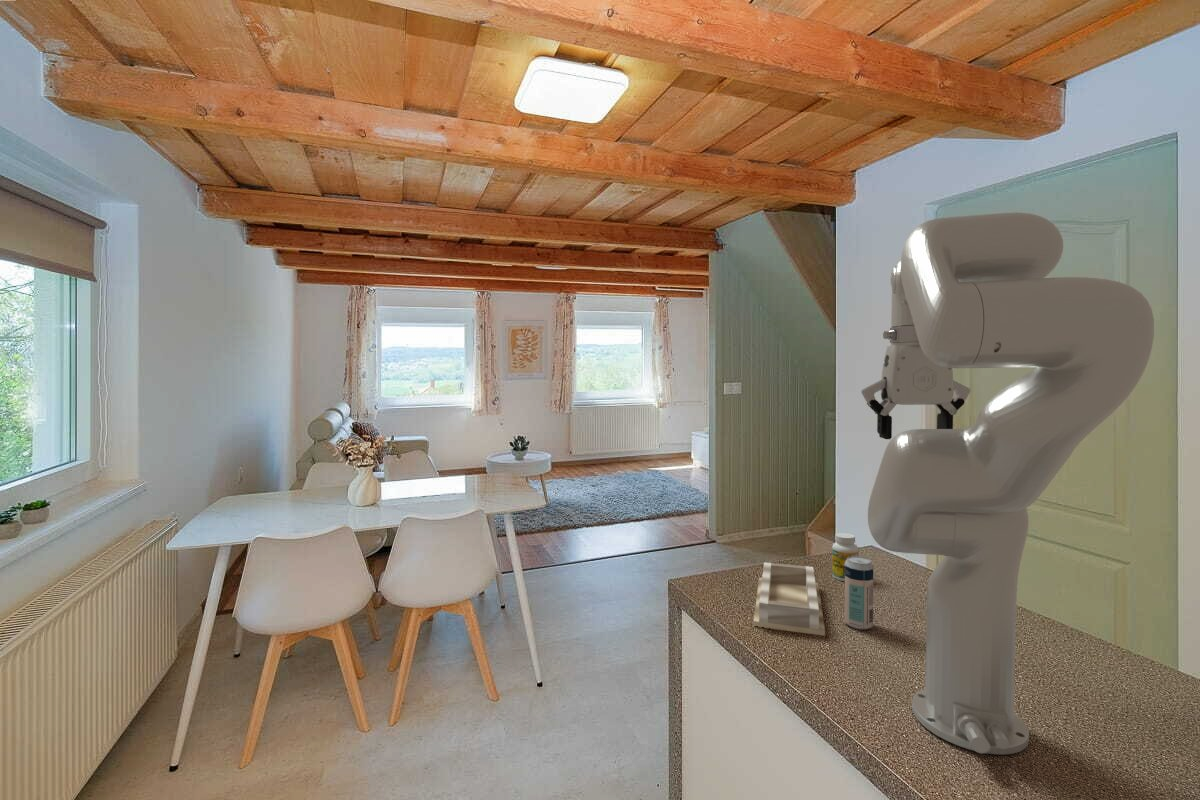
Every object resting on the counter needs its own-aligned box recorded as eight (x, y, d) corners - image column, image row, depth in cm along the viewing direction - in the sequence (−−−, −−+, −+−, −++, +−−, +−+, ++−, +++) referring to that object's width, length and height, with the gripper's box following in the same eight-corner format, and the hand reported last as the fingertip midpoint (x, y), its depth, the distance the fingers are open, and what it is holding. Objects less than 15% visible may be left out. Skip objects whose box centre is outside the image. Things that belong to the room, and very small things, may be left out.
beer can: (867, 619, 101) (867, 555, 101) (877, 631, 97) (878, 564, 96) (840, 619, 102) (840, 555, 101) (849, 631, 97) (849, 564, 96)
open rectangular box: (824, 635, 95) (825, 610, 95) (753, 626, 99) (753, 602, 99) (818, 588, 116) (818, 567, 116) (759, 582, 120) (759, 561, 120)
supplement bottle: (863, 579, 121) (864, 536, 121) (848, 584, 118) (849, 540, 118) (841, 571, 126) (842, 530, 125) (826, 576, 123) (827, 534, 122)
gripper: (873, 337, 89) (871, 441, 91) (983, 335, 88) (980, 440, 89) (854, 339, 97) (853, 435, 98) (956, 337, 96) (954, 434, 97)
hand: (914, 437), depth 94 cm, fingers open, 9 cm apart
